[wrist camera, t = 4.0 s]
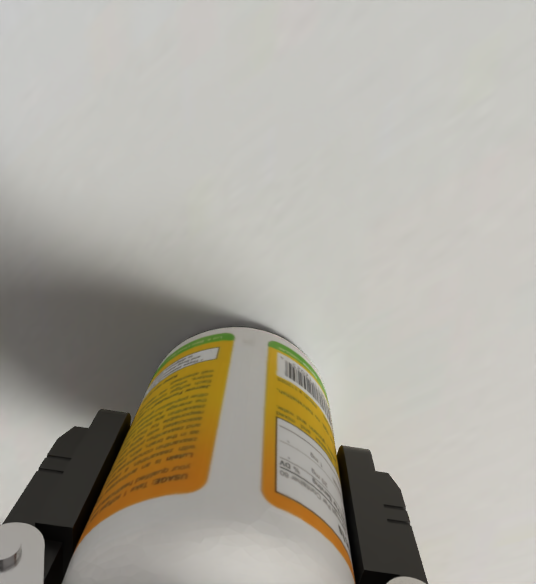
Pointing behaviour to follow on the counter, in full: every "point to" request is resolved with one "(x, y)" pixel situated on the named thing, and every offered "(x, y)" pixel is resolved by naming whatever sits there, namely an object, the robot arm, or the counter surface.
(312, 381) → the supplement bottle
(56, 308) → the counter surface
